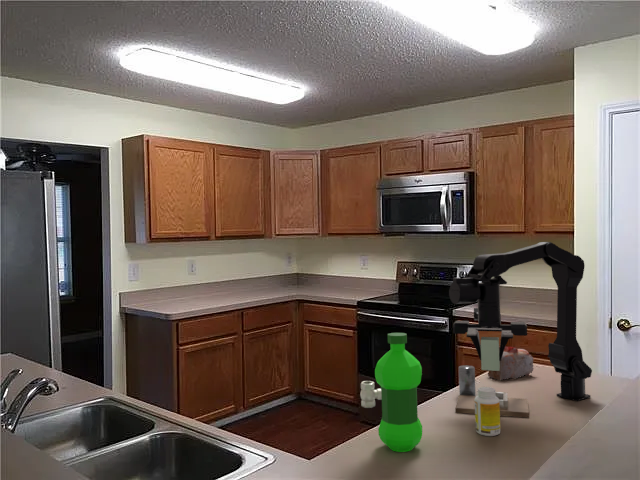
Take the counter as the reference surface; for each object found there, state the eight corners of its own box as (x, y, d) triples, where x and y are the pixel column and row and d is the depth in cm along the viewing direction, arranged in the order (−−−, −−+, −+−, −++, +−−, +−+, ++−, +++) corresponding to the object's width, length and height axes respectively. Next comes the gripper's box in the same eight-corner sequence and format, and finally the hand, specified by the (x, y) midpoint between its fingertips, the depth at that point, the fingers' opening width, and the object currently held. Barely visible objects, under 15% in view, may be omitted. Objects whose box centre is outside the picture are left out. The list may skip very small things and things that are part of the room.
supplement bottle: (505, 434, 126) (504, 389, 126) (487, 438, 124) (485, 393, 124) (488, 427, 131) (487, 384, 131) (470, 431, 129) (469, 388, 129)
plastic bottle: (434, 446, 120) (430, 333, 120) (403, 460, 113) (399, 340, 113) (399, 435, 128) (395, 328, 128) (368, 448, 121) (364, 335, 121)
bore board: (527, 403, 148) (526, 391, 148) (528, 417, 137) (528, 404, 137) (459, 399, 154) (458, 387, 154) (455, 412, 143) (454, 400, 143)
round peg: (467, 391, 161) (466, 364, 161) (479, 395, 158) (478, 367, 157) (456, 394, 159) (455, 367, 159) (467, 398, 155) (466, 369, 155)
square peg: (499, 366, 147) (498, 337, 147) (499, 370, 143) (498, 340, 143) (482, 366, 149) (481, 336, 149) (481, 370, 144) (480, 339, 144)
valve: (361, 410, 148) (406, 408, 148) (361, 386, 148) (405, 384, 148) (359, 403, 154) (401, 401, 155) (358, 379, 154) (401, 378, 155)
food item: (517, 371, 183) (516, 342, 183) (536, 376, 176) (535, 345, 176) (485, 376, 178) (484, 346, 178) (503, 382, 170) (502, 350, 170)
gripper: (525, 298, 150) (526, 355, 150) (455, 298, 156) (457, 352, 156) (526, 303, 140) (528, 364, 140) (451, 302, 146) (453, 361, 146)
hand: (490, 360), depth 146 cm, fingers closed on square peg, 4 cm apart
